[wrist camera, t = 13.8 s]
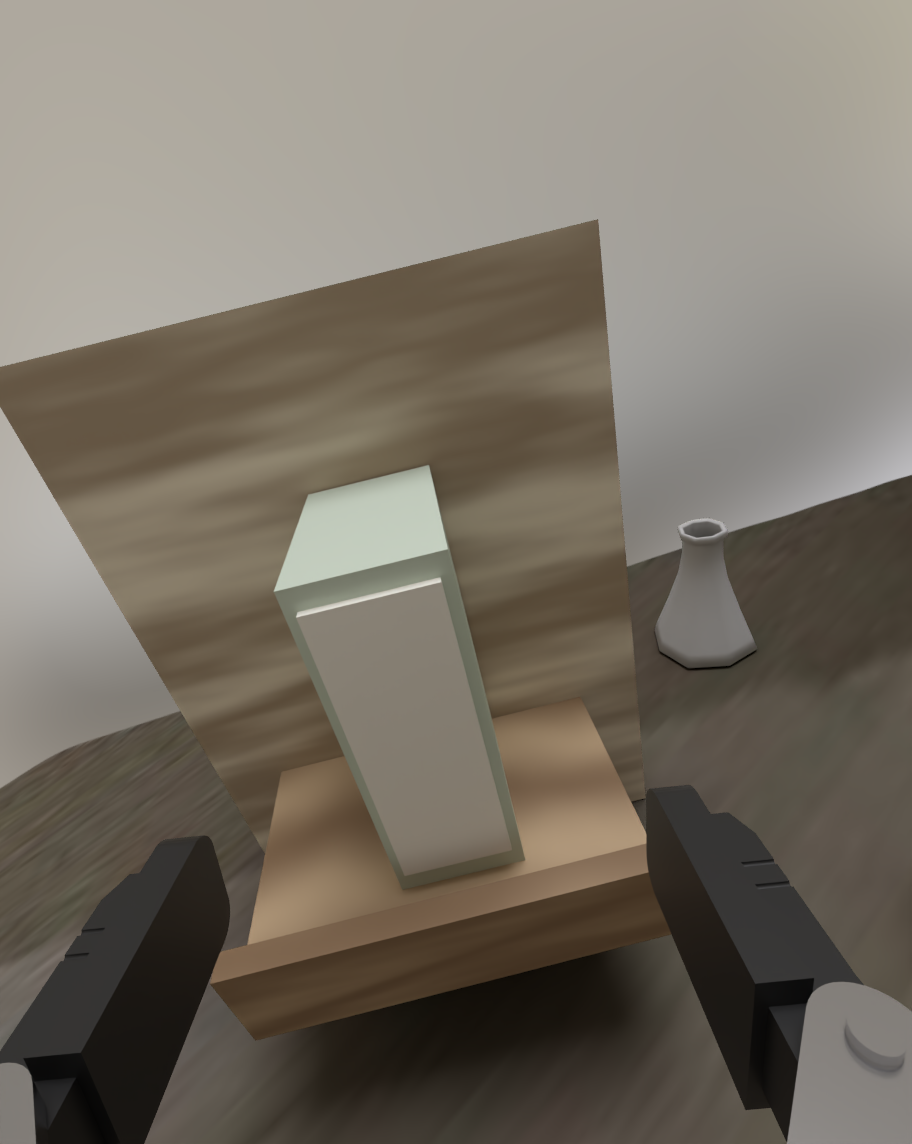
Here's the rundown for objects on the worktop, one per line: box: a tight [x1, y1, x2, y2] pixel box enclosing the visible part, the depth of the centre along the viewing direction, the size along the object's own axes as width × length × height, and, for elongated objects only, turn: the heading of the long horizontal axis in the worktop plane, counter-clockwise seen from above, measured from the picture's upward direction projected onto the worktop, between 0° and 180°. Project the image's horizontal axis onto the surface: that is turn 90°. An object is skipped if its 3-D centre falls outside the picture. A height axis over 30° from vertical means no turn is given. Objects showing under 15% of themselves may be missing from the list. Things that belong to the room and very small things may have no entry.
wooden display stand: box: [0, 219, 671, 1040], centre depth 25 cm, size 18×22×30 cm
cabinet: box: [274, 465, 525, 890], centre depth 23 cm, size 8×5×14 cm, turn 6°
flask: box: [654, 518, 757, 668], centre depth 43 cm, size 7×7×10 cm
